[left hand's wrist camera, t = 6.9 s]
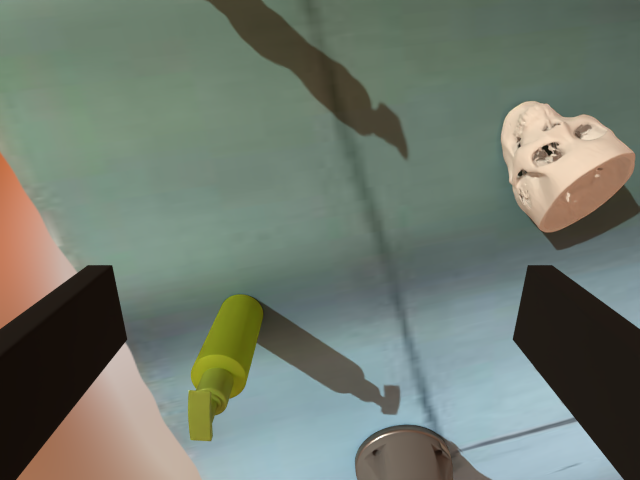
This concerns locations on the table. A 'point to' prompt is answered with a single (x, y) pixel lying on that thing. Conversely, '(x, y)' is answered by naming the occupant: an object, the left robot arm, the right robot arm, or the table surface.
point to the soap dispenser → (223, 362)
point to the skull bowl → (562, 164)
